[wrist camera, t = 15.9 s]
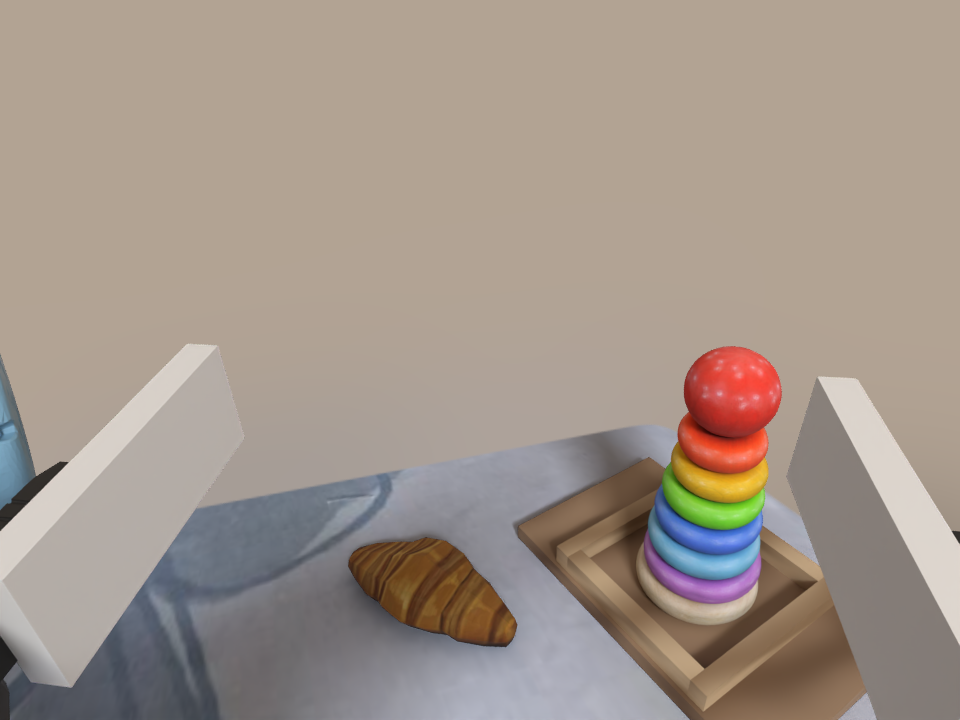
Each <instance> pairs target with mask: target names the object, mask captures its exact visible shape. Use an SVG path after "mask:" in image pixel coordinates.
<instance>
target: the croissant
mask: <svg viewBox="0 0 960 720" xmlns="http://www.w3.org/2000/svg"><path fill="white" fill-rule="evenodd" d="M348 567H349V569H350V570H351V572H352V574H353V576H354V578H355V579H356V581H357V582H358V583H359V585H360V586H361V587H362V589H363V590H364V591H365V593H366V594H367V595H369V596H370V597H371V598H373V599H374V600H376V601H378V602H379V603H380V604H381V606H382V607H383V608H384V609H385V610H386V611H387V612H389V613H390V614H391V615H392V616H393V617H395V618H396V619H397V620H398V621H400V622H402V623H404V624H406V625H409V626H411V627H414V628H418V629H421V630H425V631H428V632H432V633H438V634H444V635H448V636H450V637H451V638H453V639H455V640H456V641H458V642H464V643H470V644H475V645H481V646H494V647H507V645H508V644H509V643H510V642H511V641H512V640H513V638H514V636H515V632H516V628H517V623H516V620H515V618H514V617H513V615H512V614H511V612H510V611H509V610H508V608H507V607H506V605H505V604H504V602H503V601H502V600H501V598H500V597H499V596H498V595H497V593H496V592H495V590H494V589H493V587H492V586H491V584H490V583H489V582H488V581H487V580H486V579H484V578H483V577H482V576H481V575H480V574H479V573H478V572H476V571H475V570H474V568H473V566H472V564H471V563H470V561H469V560H468V559H467V557H466V556H465V555H464V553H462V552H461V551H459V550H458V549H457V548H455V547H454V546H452V545H451V544H449V543H448V542H447V541H443V540H438V539H432V538H427V537H426V538H423V539H420V540H417V541H414V542H389V543H376V544H372V545H368V546H364V547H360V548H359V549H357V550H356V551H354V552H353V554H352V555H351V557H350V559H349V564H348Z"/></svg>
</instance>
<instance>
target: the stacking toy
mask: <svg viewBox="0 0 960 720" xmlns="http://www.w3.org/2000/svg"><path fill="white" fill-rule="evenodd" d="M781 393H782V391H781V384H780V380H779V376H778V374H777V372H776V370H775V369H774V367H773V366H772V365H771V364H770V362H768V361H767V360H766V359H765V358H764V357H763V356H761V355H760V354H758V353H756V352H754V351H752V350H750V349H746V348H742V347H735V346H734V347H733V346H731V347H721V348H717V349H714V350H711V351H709V352H707V353H705V354H704V355H702V356H701V357H700V358H698V359H697V360H696V361H695V363H694V364H693V365H692V367H691V368H690V370H689V371H688V373H687V376H686V379H685V384H684V398H685V403H686V405H687V408H688V411H689V412H688V413H687V414H686V415H685V416H684V417H683V419H682V420H681V422H680V424H679V427H678V442H677V443H676V445H675V447H674V449H673V451H672V455H671V463H670V464H669V465H668V466H667V467H666V469H665V471H664V474H663V478H662V484H661V486H660V487H659V489H658V491H657V493H656V496H655V505H654V506H653V508H652V510H651V512H650V515H649V519H648V529H647V532H646V534H645V538H644V542H643V543H642V545H641V547H640V549H639V551H638V554H637V559H636V571H637V576H638V579H639V582H640V584H641V586H642V588H643V590H644V592H645V593H646V595H647V596H648V597H649V598H650V599H651V600H652V601H653V603H655V604H656V605H657V606H658V607H659V608H660V609H662V610H663V611H664V612H666V613H668V614H669V615H671V616H673V617H675V618H677V619H680V620H682V621H685V622H689V623H693V624H698V625H719V624H724V623H728V622H731V621H734V620H736V619H737V618H739V617H741V616H742V615H744V614H745V613H746V612H747V611H748V610H749V609H750V608H751V606H752V605H753V603H754V601H755V599H756V596H757V592H758V578H759V576H760V572H761V556H760V551H759V550H760V535H759V534H760V531H761V529H762V523H763V515H762V508H763V506H764V502H765V490H764V486H765V484H766V482H767V479H768V464H767V461H766V459H765V455H766V453H767V450H768V436H767V433H766V431H765V429H764V427H765V426H766V425H767V424H768V423H769V422H770V421H771V420H772V418H773V417H774V416H775V414H776V412H777V411H778V408H779V405H780V401H781V396H782V394H781Z"/></svg>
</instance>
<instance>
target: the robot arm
mask: <svg viewBox="0 0 960 720" xmlns="http://www.w3.org/2000/svg"><path fill="white" fill-rule="evenodd" d="M244 438H245V437H244V434H243V431H242V427H241V423H240V420H239V416H238V413H237V410H236V406H235V403H234V399H233V396H232V392H231V389H230V385H229V382H228V378H227V375H226V371H225V368H224V364H223V361H222V357H221V354H220V351H219V347H218V345H200V344H187V345H186V346H185V347H184V348H183V349H182V350H181V351H180V352H179V353H178V354H177V355H176V356H175V357H174V358H173V359H172V360H171V361H170V362H169V363H168V364H167V365H166V366H165V367H164V368H163V369H162V370H161V371H160V372H159V373H158V374H157V375H156V376H155V377H154V378H153V379H152V380H151V381H150V382H149V383H148V384H147V385H146V386H145V387H144V388H143V389H142V390H141V391H140V392H139V393H138V394H137V395H136V396H135V397H134V398H133V399H132V400H131V401H130V402H129V403H128V404H127V405H126V406H125V407H124V408H123V409H122V410H121V411H120V412H119V413H118V414H117V415H116V416H115V417H114V418H113V419H112V420H111V421H110V422H109V423H108V424H107V425H106V426H105V427H104V428H103V429H102V430H101V431H100V432H99V433H98V434H97V435H96V436H95V437H94V438H93V439H92V440H91V441H90V442H89V443H88V444H87V445H86V446H85V447H84V448H83V449H82V450H81V451H80V452H79V453H78V454H77V455H76V456H75V457H74V458H73V459H72V460H71V461H70V462H59V463H57V464H56V465H54V466H52V467H51V468H49V469H48V470H46V471H44V472H43V473H41V474H39V475H38V476H36V475H35V470H34V466H33V461H32V457H31V453H30V449H29V446H28V442H27V439H26V435H25V432H24V428H23V424H22V421H21V418H20V414H19V411H18V408H17V405H16V401H15V398H14V395H13V391H12V388H11V385H10V382H9V379H8V376H7V373H6V370H5V367H4V364H3V361H2V358H1V355H0V720H10V708H9V691H8V688H7V685H6V683H5V682H4V680H3V678H4V677H5V676H6V675H7V673H8V672H9V671H10V670H11V668H12V667H13V666H14V665H15V663H16V662H17V663H18V665H19V666H20V667H21V669H22V670H23V672H24V673H25V675H26V676H27V677H28V679H29V680H30V682H32V683H39V684H47V685H55V686H62V687H70V688H72V686H73V685H74V684H75V682H76V681H77V679H78V678H79V676H80V675H81V673H82V672H83V671H84V669H85V668H86V666H87V665H88V663H89V662H90V660H91V659H92V658H93V656H94V655H95V653H96V652H97V650H98V649H99V647H100V646H101V645H102V643H103V642H104V640H105V639H106V637H107V636H108V634H109V633H110V632H111V630H112V629H113V627H114V626H115V624H116V623H117V621H118V620H119V619H120V617H121V616H122V614H123V613H124V611H125V610H126V608H127V607H128V606H129V604H130V603H131V601H132V600H133V598H134V597H135V595H136V594H137V593H138V591H139V590H140V588H141V587H142V585H143V584H144V582H145V581H146V580H147V578H148V577H149V575H150V574H151V572H152V571H153V569H154V568H155V567H156V565H157V564H158V562H159V561H160V559H161V558H162V556H163V555H164V554H165V552H166V551H167V549H168V548H169V546H170V545H171V543H172V542H173V541H174V539H175V538H176V536H177V535H178V533H179V532H180V530H181V529H182V528H183V526H184V525H185V523H186V522H187V520H188V519H189V517H190V516H191V515H192V513H193V512H194V510H195V509H196V507H197V506H198V504H199V503H200V502H201V500H202V499H203V497H204V495H205V494H206V493H207V491H208V490H209V489H210V487H211V486H212V484H213V482H214V481H215V480H216V478H217V477H218V475H219V474H220V473H221V471H222V470H223V468H224V467H225V465H226V464H227V463H228V461H229V460H230V458H231V457H232V455H233V454H234V452H235V451H236V450H237V448H238V447H239V445H240V444H241V442H242V441H243V439H244ZM786 477H787V479H788V482H789V485H790V487H791V490H792V493H793V495H794V498H795V501H796V503H797V506H798V509H799V512H800V514H801V517H802V520H803V522H804V525H805V528H806V530H807V533H808V536H809V538H810V541H811V544H812V546H813V549H814V552H815V554H816V557H817V560H818V562H819V565H820V568H821V570H822V573H823V576H824V578H825V581H826V584H827V586H828V589H829V592H830V595H831V597H832V600H833V603H834V605H835V608H836V611H837V613H838V616H839V619H840V621H841V624H842V627H843V629H844V632H845V635H846V637H847V640H848V643H849V645H850V648H851V651H852V653H853V656H854V659H855V661H856V664H857V667H858V669H859V672H860V675H861V677H862V680H863V683H864V686H865V688H866V691H867V694H868V696H869V699H870V702H871V704H872V707H873V710H874V712H875V715H876V718H877V720H960V532H958V531H951V530H950V528H949V526H948V525H947V523H946V522H945V520H944V518H943V517H942V515H941V514H940V512H939V510H938V509H937V507H936V505H935V504H934V502H933V501H932V499H931V497H930V496H929V494H928V493H927V491H926V489H925V488H924V486H923V484H922V483H921V481H920V480H919V478H918V476H917V475H916V473H915V472H914V470H913V468H912V467H911V465H910V464H909V462H908V460H907V459H906V457H905V455H904V454H903V452H902V451H901V449H900V447H899V446H898V444H897V443H896V441H895V440H894V438H893V436H892V434H891V433H890V431H889V430H888V428H887V426H886V425H885V423H884V422H883V420H882V418H881V417H880V415H879V413H878V412H877V410H876V409H875V407H874V405H873V404H872V402H871V401H870V399H869V397H868V396H867V394H866V392H865V391H864V389H863V388H862V386H861V384H860V383H859V381H858V380H857V379H855V378H836V377H817V379H816V382H815V385H814V388H813V392H812V395H811V398H810V402H809V405H808V408H807V411H806V414H805V418H804V421H803V424H802V427H801V431H800V434H799V437H798V440H797V444H796V447H795V450H794V454H793V457H792V460H791V463H790V466H789V470H788V473H787V476H786Z"/></svg>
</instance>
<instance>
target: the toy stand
mask: <svg viewBox="0 0 960 720" xmlns="http://www.w3.org/2000/svg"><path fill="white" fill-rule="evenodd" d="M664 471H665V468H663V467H662V466H661V465H659V464H658V463H657V462H655V461H654V460H652V459H651V458H650V457H648V458H646V459H644V460H642V461H641V462H639V463H637V464H635V465H633V466H631V467H629V468H627V469H625V470H623V471H622V472H620V473H618V474H616V475H614V476H612V477H610V478H608V479H606V480H605V481H603V482H601V483H599V484H597V485H595V486H593V487H591V488H589V489H587V490H586V491H584V492H582V493H580V494H578V495H576V496H574V497H572V498H570V499H569V500H567V501H565V502H563V503H561V504H559V505H557V506H555V507H553V508H551V509H550V510H548V511H546V512H544V513H542V514H540V515H538V516H536V517H534V518H533V519H531V520H529V521H527V522H525V523H523V524H521V525H519V526H518V537H519V538H520V540H521V541H522V542H523V543H524V544H525V545H526V546H527V547H528V548H529V549H530V550H531V551H532V552H533V553H534V554H535V555H536V557H537V558H538V559H539V560H540V561H541V562H542V563H543V564H544V565H545V566H546V567H547V568H548V569H549V570H550V571H551V572H552V573H553V575H554V576H555V577H556V578H557V579H558V580H559V581H560V582H561V583H562V584H563V585H564V586H565V587H566V588H567V589H568V590H569V591H570V593H571V594H572V595H573V596H574V597H575V598H576V599H577V600H578V601H579V602H580V603H581V604H582V605H583V606H584V607H585V608H586V609H587V611H588V612H589V613H590V614H591V615H592V616H593V617H594V618H595V619H596V620H597V621H598V622H599V623H600V624H601V625H602V626H603V628H604V629H605V630H606V631H607V632H608V633H609V634H610V635H611V636H612V637H613V638H614V639H615V640H616V641H617V642H618V643H619V644H620V646H621V647H622V648H623V649H624V650H625V651H626V652H627V653H628V654H629V655H630V656H631V657H632V658H633V659H634V660H635V661H636V662H637V664H638V665H639V666H640V667H641V668H642V669H643V670H644V671H645V672H646V673H647V674H648V675H649V676H650V677H651V678H652V679H653V681H654V682H655V683H656V684H657V685H658V686H659V687H660V688H661V689H662V690H663V691H664V692H665V693H666V694H667V695H668V696H669V697H670V699H671V700H672V701H673V702H674V703H675V704H676V705H677V706H678V707H679V708H680V709H681V710H682V711H683V712H684V713H685V714H686V715H687V717H688V718H689V719H690V720H838V719H839V718H840V717H841V716H842V715H843V714H844V713H845V712H846V711H847V710H848V709H849V708H850V707H852V706H853V705H854V704H855V703H856V702H857V701H858V700H859V699H860V698H861V697H862V696H863V695H864V694H865V693H866V692H867V691H866V688H865V686H864V683H863V680H862V677H861V675H860V672H859V669H858V667H857V664H856V661H855V659H854V656H853V653H852V651H851V648H850V645H849V643H848V640H847V637H846V635H845V632H844V629H843V627H842V624H841V621H840V619H839V616H838V613H837V611H836V608H835V605H834V603H833V600H832V597H831V595H830V592H829V589H828V586H827V584H826V581H825V578H824V576H823V573H822V570H821V568H820V566H819V565H817V564H816V563H815V562H813V561H812V560H810V559H809V558H808V557H806V556H805V555H803V554H802V553H800V552H799V551H798V550H796V549H795V548H793V547H792V546H791V545H789V544H788V543H786V542H785V541H784V540H782V539H781V538H779V537H778V536H776V535H775V534H774V533H772V532H771V531H769V530H768V529H767V528H765V527H764V526H762V529H761V531H760V534H759V535H760V550H759V551H760V556H761V572H760V576H759V578H758V592H757V596H756V599H755V601H754V603H753V605H752V606H751V608H750V609H749V610H748V611H747V612H746V613H745V614H744V615H742V616H741V617H739V618H737V619H736V620H734V621H731V622H728V623H724V624H719V625H698V624H693V623H689V622H685V621H682V620H680V619H677V618H675V617H673V616H671V615H669V614H668V613H666V612H664V611H663V610H662V609H660V608H659V607H658V606H657V605H656V604H655V603H653V601H652V600H651V599H650V598H649V597H648V596H647V595H646V593H645V592H644V590H643V588H642V586H641V584H640V582H639V579H638V576H637V571H636V559H637V554H638V551H639V549H640V547H641V545H642V543H643V542H644V538H645V534H646V532H647V529H648V519H649V515H650V512H651V510H652V508H653V506H654V505H655V496H656V493H657V491H658V489H659V487H660V486H661V484H662V478H663V474H664Z"/></svg>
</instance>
